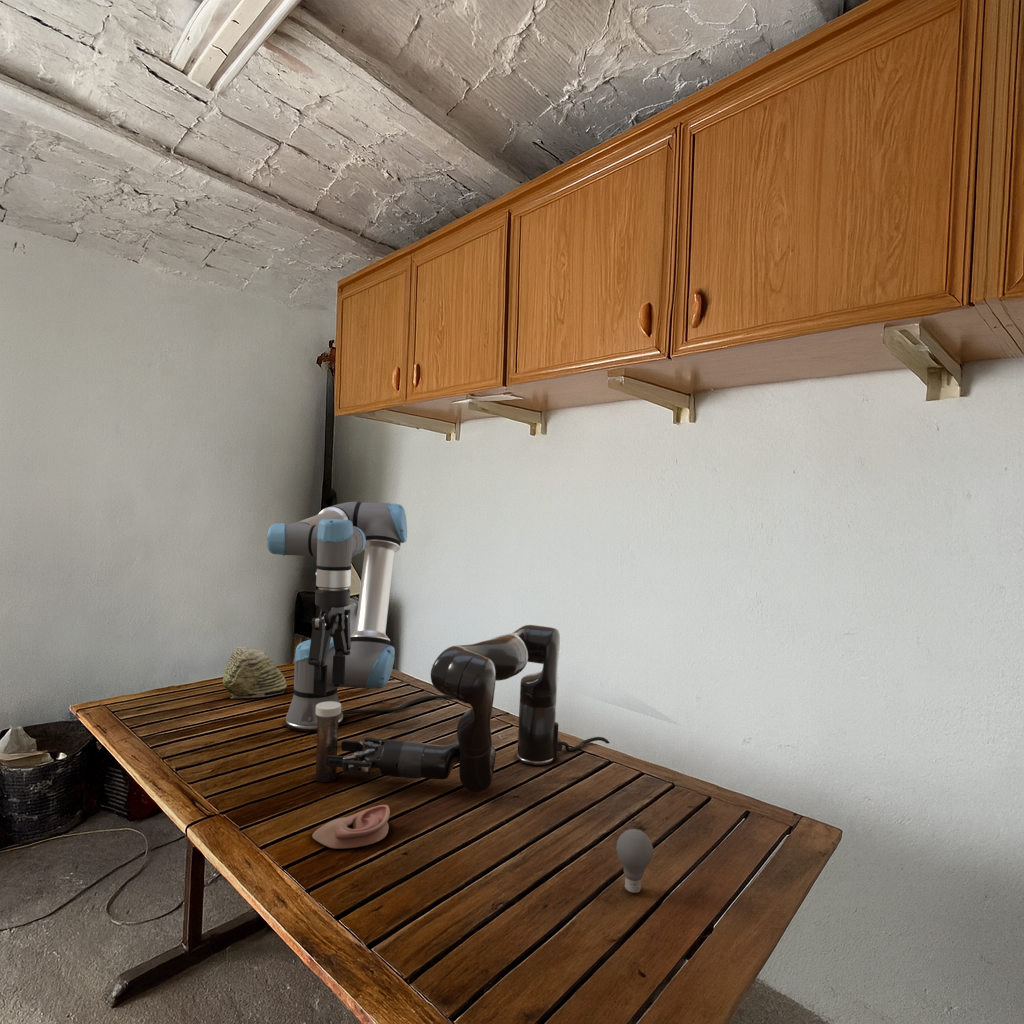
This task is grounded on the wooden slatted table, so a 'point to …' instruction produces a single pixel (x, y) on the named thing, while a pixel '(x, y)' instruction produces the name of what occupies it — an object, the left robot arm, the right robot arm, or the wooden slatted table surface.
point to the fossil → (252, 674)
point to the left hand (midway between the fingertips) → (329, 688)
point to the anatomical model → (355, 829)
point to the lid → (328, 709)
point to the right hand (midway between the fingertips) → (334, 752)
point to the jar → (326, 747)
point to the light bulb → (634, 857)
